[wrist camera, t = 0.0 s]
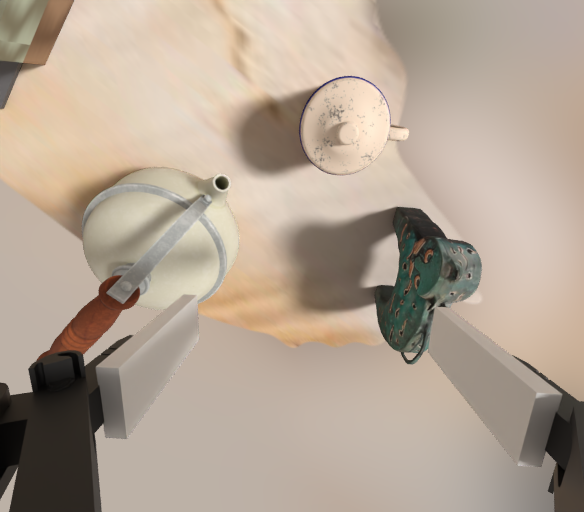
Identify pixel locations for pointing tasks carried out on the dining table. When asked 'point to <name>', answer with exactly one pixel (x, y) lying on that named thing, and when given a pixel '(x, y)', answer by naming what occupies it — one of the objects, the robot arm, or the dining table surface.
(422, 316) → the ceramic cat
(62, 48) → the dining table surface
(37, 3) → the green block with hole
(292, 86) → the dining table surface
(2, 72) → the rubber mat
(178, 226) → the kettle
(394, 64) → the dining table surface
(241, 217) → the dining table surface
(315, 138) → the teacup with lid
